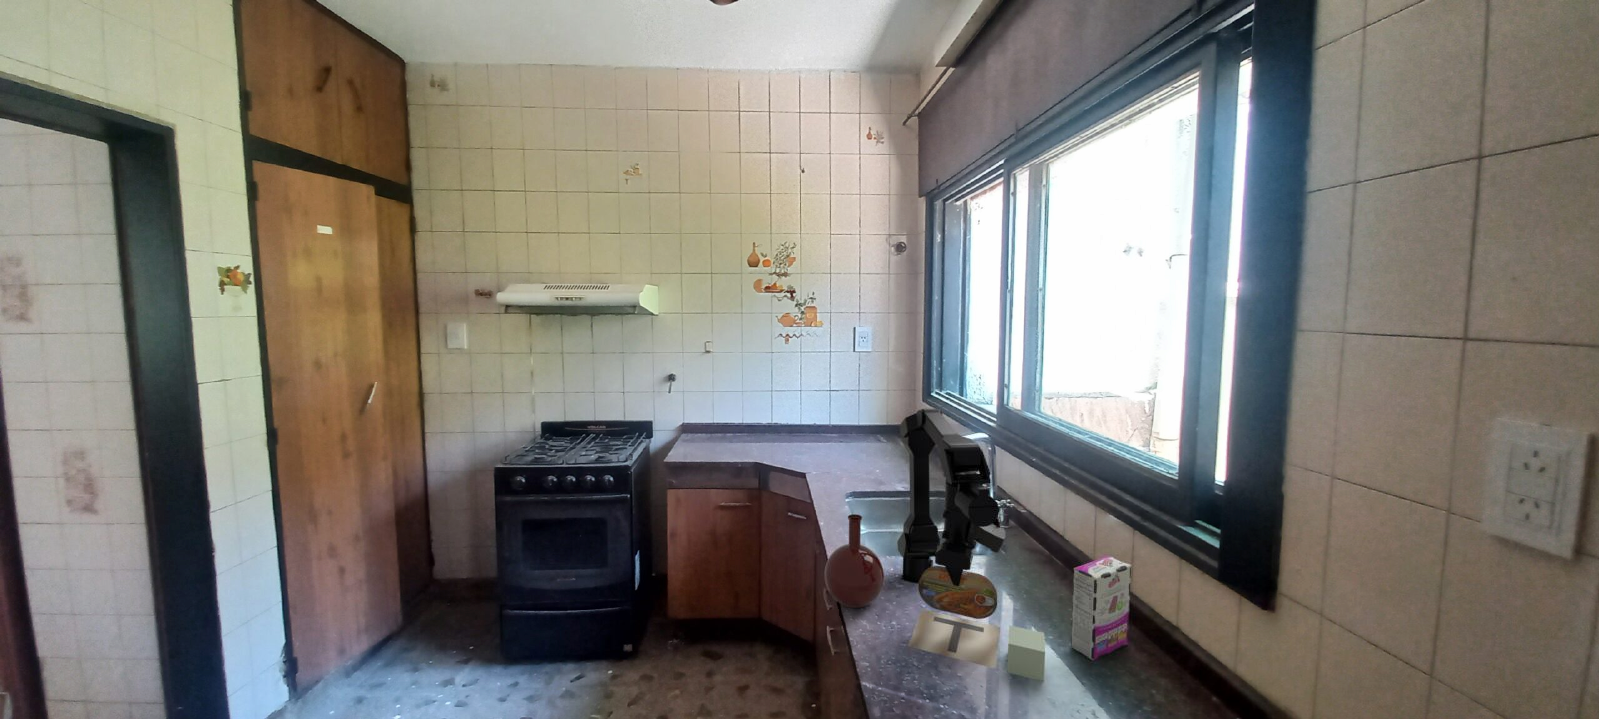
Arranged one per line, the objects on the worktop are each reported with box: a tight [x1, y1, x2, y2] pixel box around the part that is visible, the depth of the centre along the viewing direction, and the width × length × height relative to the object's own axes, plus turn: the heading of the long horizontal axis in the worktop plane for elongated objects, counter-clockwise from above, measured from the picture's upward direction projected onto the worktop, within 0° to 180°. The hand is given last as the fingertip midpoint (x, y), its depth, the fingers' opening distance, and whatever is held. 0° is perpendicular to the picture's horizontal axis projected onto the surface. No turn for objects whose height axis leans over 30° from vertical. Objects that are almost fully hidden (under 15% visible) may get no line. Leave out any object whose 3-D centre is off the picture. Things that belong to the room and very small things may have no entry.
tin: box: [917, 565, 998, 620], centre depth 105 cm, size 15×3×8 cm, turn 66°
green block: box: [1006, 625, 1046, 682], centre depth 97 cm, size 6×6×6 cm
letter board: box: [908, 608, 1001, 669], centre depth 106 cm, size 16×14×1 cm
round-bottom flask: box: [824, 513, 885, 609], centre depth 118 cm, size 13×13×20 cm
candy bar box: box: [1070, 555, 1132, 661], centre depth 103 cm, size 11×5×16 cm, turn 117°
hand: (957, 582), depth 105 cm, fingers closed on tin, 3 cm apart
